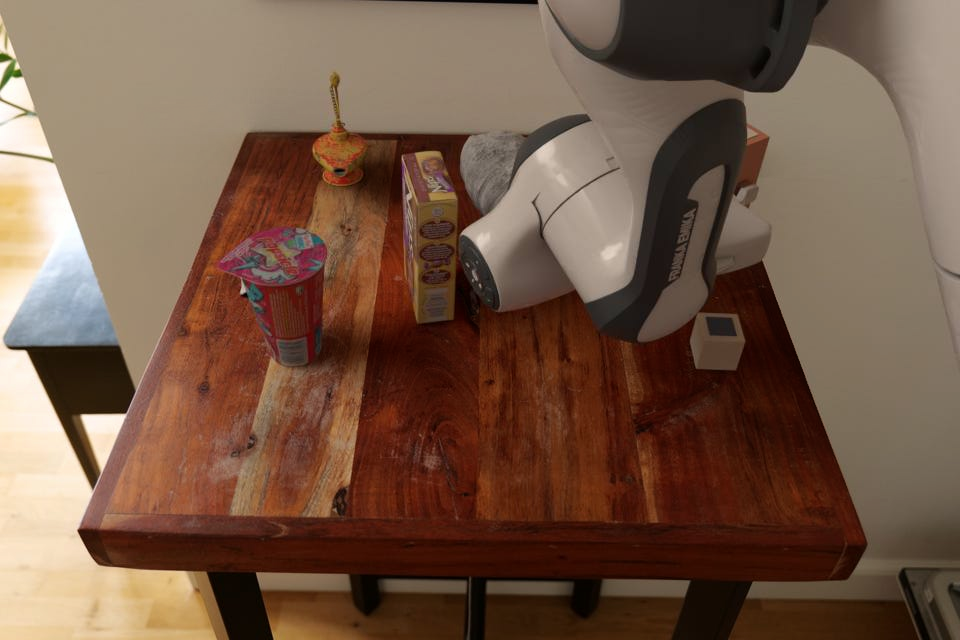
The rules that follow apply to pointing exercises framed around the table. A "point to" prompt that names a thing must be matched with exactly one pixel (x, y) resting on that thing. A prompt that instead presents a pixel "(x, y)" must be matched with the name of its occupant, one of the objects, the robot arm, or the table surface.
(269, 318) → the cup
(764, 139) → the tall block
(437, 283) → the candy box
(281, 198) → the table surface
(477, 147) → the seashell
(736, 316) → the block
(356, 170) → the magic lamp
